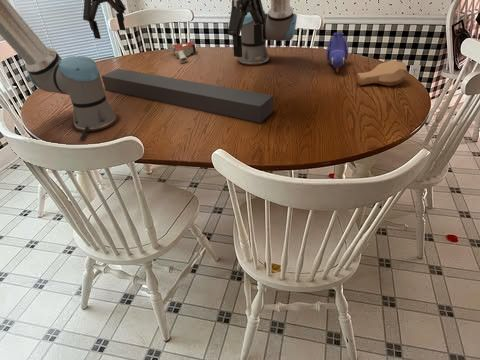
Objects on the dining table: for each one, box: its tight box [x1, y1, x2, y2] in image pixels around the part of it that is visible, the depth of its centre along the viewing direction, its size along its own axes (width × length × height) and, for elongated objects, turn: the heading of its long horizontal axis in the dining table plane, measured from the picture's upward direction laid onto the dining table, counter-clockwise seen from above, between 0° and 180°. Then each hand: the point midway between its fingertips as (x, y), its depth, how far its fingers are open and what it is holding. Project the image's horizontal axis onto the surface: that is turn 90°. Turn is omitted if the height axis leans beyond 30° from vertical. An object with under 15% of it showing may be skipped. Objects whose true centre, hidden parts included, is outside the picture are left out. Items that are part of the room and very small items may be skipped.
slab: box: [101, 68, 274, 124], centre depth 145 cm, size 79×10×6 cm, turn 60°
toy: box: [326, 31, 349, 74], centre depth 163 cm, size 10×17×25 cm
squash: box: [356, 59, 408, 87], centre depth 147 cm, size 11×20×9 cm, turn 92°
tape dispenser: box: [170, 41, 197, 64], centre depth 192 cm, size 18×5×20 cm
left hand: (110, 34), depth 147 cm, fingers open, 13 cm apart
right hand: (248, 50), depth 118 cm, fingers open, 13 cm apart
